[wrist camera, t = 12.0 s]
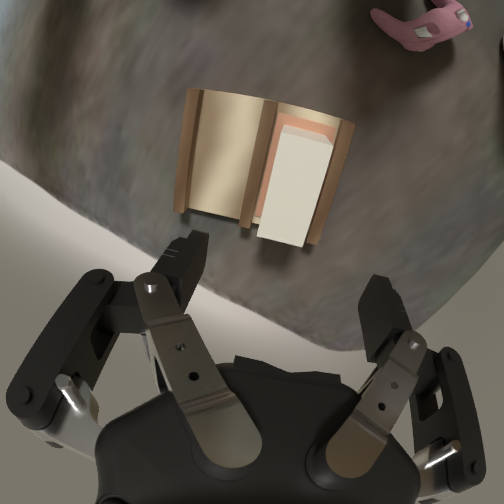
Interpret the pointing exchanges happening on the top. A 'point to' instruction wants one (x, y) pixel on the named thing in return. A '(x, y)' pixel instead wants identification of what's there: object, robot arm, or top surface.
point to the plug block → (294, 185)
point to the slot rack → (247, 154)
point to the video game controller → (426, 25)
